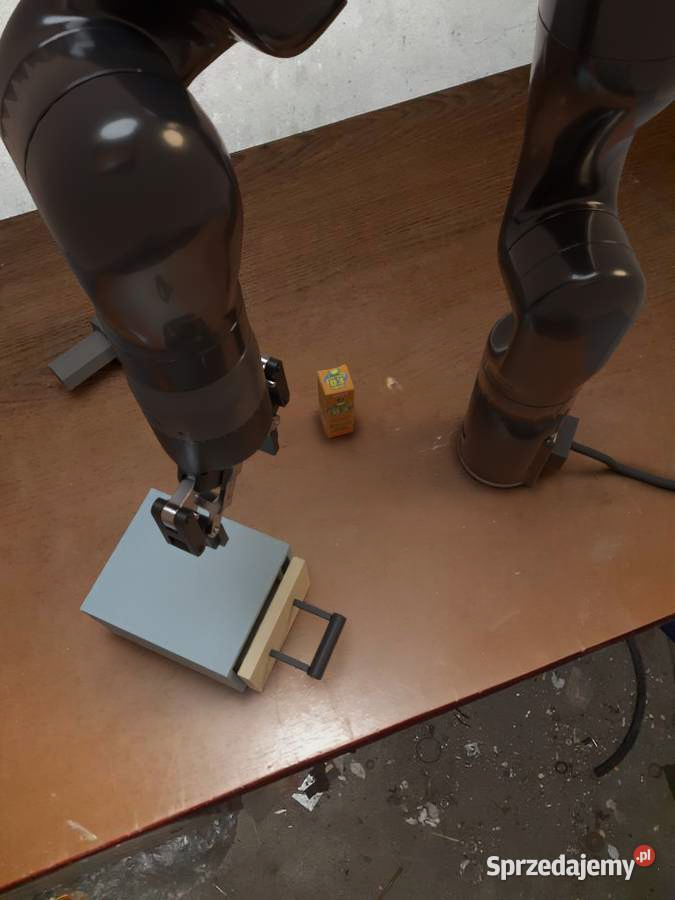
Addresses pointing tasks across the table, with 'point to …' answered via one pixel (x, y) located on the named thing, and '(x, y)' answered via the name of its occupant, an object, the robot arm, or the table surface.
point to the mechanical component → (84, 357)
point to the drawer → (285, 630)
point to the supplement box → (336, 401)
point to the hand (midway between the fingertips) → (241, 492)
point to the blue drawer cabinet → (187, 593)
